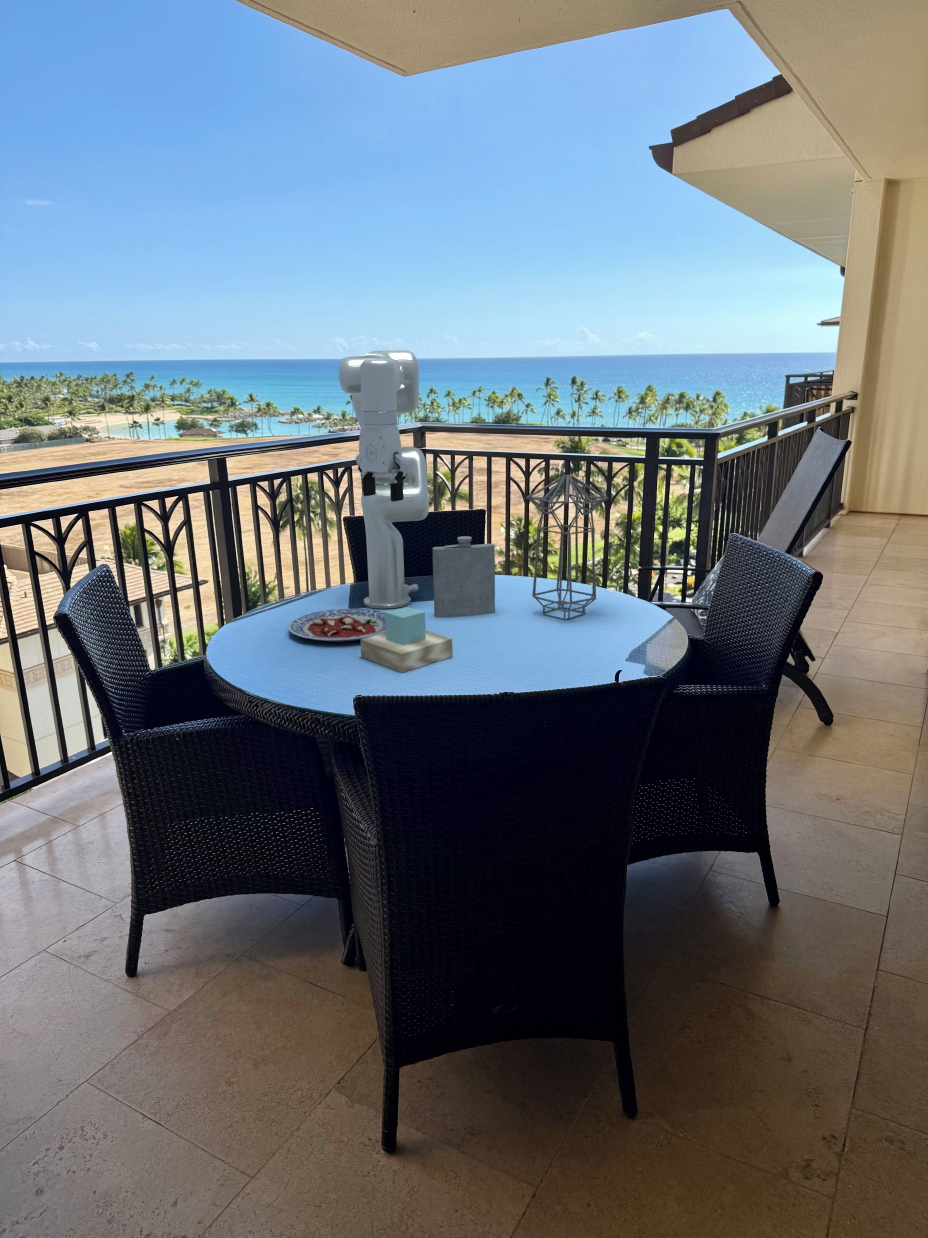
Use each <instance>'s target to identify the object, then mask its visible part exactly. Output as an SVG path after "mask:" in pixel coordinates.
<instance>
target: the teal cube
mask: <svg viewBox="0 0 928 1238" xmlns="http://www.w3.org/2000/svg"><path fill="white" fill-rule="evenodd" d="M384 612H385V611H384ZM385 621H386V632H385V633H386V639H387V640H390V641H393V642H396V643H399V644H402V645H407V644H410V643H413V642H417V641H420V640H423V639H426V632H425V631H426V612H425V611H423V610H419V609H415V608H412V607H408V606H403V607H399V608H396V609H394V610H389V611H386V612H385Z"/></svg>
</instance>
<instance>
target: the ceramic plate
mask: <svg viewBox="0 0 928 1238" xmlns="http://www.w3.org/2000/svg"><path fill="white" fill-rule="evenodd" d="M288 630H289V632H290V633H292V634H293V635H295V636H297V637H300V638H304V639H308V640H309V639H310V640H315V641H323V642H331V643H333V642H335V643H336V642H337V643H338V642H340V643H341V642H353V641H358V640H361V639H364V638H368V637H371V636H375V635H379V634H382V633H386V621H385V611H381V610H377V609H368V608H335V609H327V610H320V611H316V612H315V611H314V612H313V613H312V612H311V613H308V614H304V615H301V616H299V617H297V618H295V619H294V620H292V621H291V622H290V623H289V625H288Z"/></svg>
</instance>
